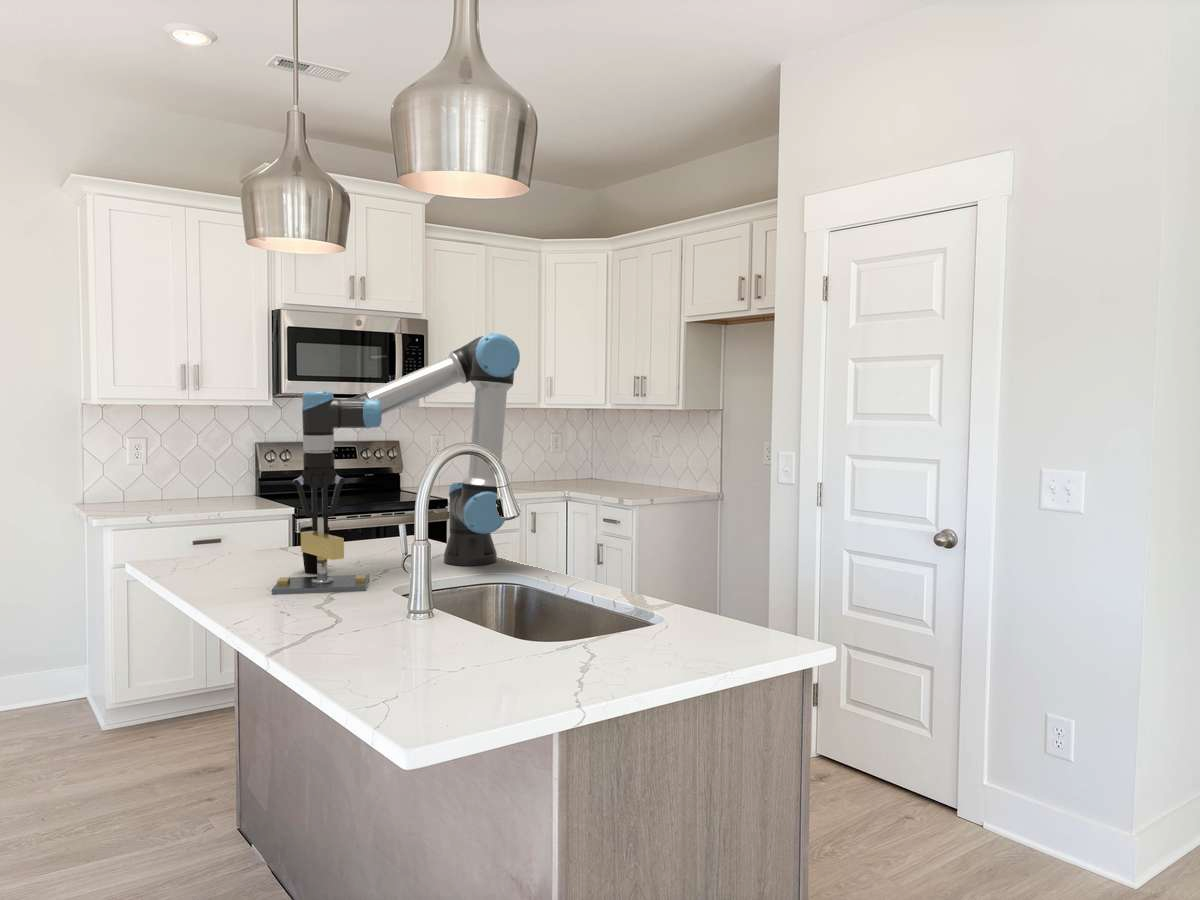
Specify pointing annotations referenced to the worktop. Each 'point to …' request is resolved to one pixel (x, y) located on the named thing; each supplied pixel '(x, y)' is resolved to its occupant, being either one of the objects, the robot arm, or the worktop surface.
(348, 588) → the plate
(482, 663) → the worktop surface
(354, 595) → the worktop surface
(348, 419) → the robot arm
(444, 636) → the worktop surface
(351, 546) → the worktop surface
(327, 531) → the cup
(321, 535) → the flat gold bar
